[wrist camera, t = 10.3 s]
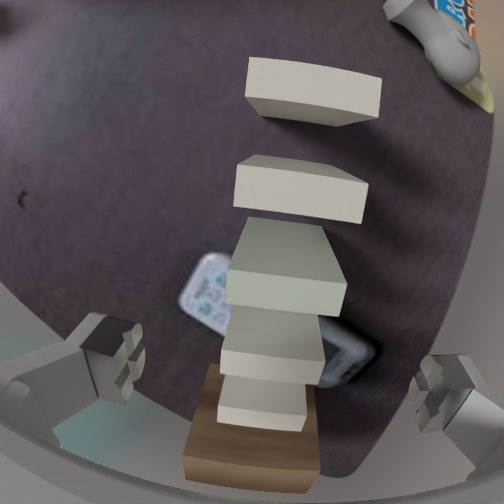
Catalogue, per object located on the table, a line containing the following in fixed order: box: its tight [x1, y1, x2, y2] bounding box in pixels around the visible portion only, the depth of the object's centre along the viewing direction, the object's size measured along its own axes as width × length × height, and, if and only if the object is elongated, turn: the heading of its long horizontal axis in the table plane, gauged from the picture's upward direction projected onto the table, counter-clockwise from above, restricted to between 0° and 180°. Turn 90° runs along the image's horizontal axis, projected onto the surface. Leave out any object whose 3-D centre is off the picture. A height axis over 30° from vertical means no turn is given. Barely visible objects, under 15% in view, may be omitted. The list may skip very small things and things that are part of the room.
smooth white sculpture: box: [383, 0, 480, 85], centre depth 14 cm, size 4×8×5 cm
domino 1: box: [245, 57, 382, 127], centre depth 14 cm, size 2×5×9 cm, turn 84°
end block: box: [183, 363, 320, 494], centre depth 22 cm, size 4×9×10 cm, turn 84°
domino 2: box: [233, 155, 368, 224], centre depth 16 cm, size 2×5×9 cm, turn 84°
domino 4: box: [220, 304, 325, 385], centre depth 19 cm, size 2×5×9 cm, turn 83°
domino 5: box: [217, 374, 307, 432], centre depth 20 cm, size 2×5×9 cm, turn 84°
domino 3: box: [225, 217, 347, 317], centre depth 17 cm, size 2×5×9 cm, turn 84°
